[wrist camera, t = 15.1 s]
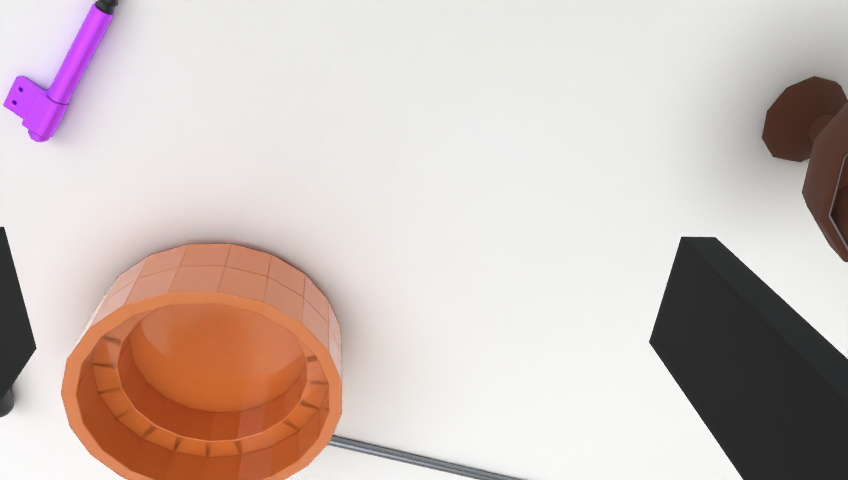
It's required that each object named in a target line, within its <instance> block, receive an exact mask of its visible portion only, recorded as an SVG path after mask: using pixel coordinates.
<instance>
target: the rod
mask: <svg viewBox="0 0 848 480" xmlns="http://www.w3.org/2000/svg"><path fill="white" fill-rule="evenodd" d="M328 445H331V446H335V447H339V448H344V449H348V450H352V451H357V452H361V453H365V454H370V455H374V456H378V457H383V458H387V459H391V460H396V461H400V462H404V463H409V464H413V465H417V466H422V467H426V468H431V469H435V470H439V471H444V472H448V473H452V474H457V475H461V476H465V477H470V478H474V479H478V480H518V479H514V478H510V477H505V476H501V475H497V474H493V473H488V472H484V471H480V470H476V469H471V468H467V467H463V466H459V465H454V464H450V463H446V462H442V461H437V460H433V459H429V458H425V457H420V456H416V455H412V454H407V453H403V452H399V451H395V450H390V449H386V448H382V447H378V446H373V445H369V444H365V443H361V442H356V441H352V440H348V439H344V438H339V437H335V436H332V438H331V440H330V442H329V444H328Z"/></svg>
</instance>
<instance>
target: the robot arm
mask: <svg viewBox="0 0 848 480" xmlns="http://www.w3.org/2000/svg"><path fill="white" fill-rule="evenodd" d="M649 343H650V344H651V346H652V347H653V349H654V350H655V351H656V353H657V354H658V356H659V357H660V359H661V360H662V362H663V363H664V365H665V366H666V368H667V369H668V370H669V372H670V373H671V375H672V376H673V378H674V379H675V381H676V382H677V384H678V385H679V386H680V388H681V389H682V391H683V392H684V394H685V395H686V397H687V398H688V400H689V401H690V403H691V404H692V405H693V407H694V408H695V410H696V411H697V413H698V414H699V416H700V417H701V419H702V420H703V422H704V423H705V424H706V426H707V427H708V429H709V430H710V432H711V433H712V435H713V436H714V438H715V439H716V440H717V442H718V443H719V445H720V446H721V448H722V449H723V451H724V452H725V454H726V455H727V457H728V458H729V459H730V461H731V462H732V464H733V465H734V467H735V468H736V470H737V471H738V473H739V474H740V476H741V477H742V478H743V480H848V359H847V358H846V357H845V356H844V355H842V354H841V353H840V352H839V351H838V350H837V349H836V348H835V347H834V346H833V345H832V344H831V343H829V342H828V341H827V340H826V339H825V338H824V337H823V336H822V335H821V334H820V333H819V332H818V331H816V330H815V329H814V328H813V327H812V326H811V325H810V324H809V323H808V322H807V321H806V320H805V319H803V318H802V317H801V316H800V315H799V314H798V313H797V312H796V311H795V310H794V309H793V308H791V307H790V306H789V305H788V304H787V303H786V302H785V301H784V300H783V299H782V298H781V297H780V296H778V295H777V294H776V293H775V292H774V291H773V290H772V289H771V288H770V287H769V286H768V285H767V284H765V283H764V282H763V281H762V280H761V279H760V278H759V277H758V276H757V275H756V274H755V273H754V272H752V271H751V270H750V269H749V268H748V267H747V266H746V265H745V264H744V263H743V262H742V261H740V260H739V259H738V258H737V257H736V256H735V255H734V254H733V253H732V252H731V251H730V250H729V249H727V248H726V247H725V246H724V245H723V244H722V243H721V242H720V241H719V240H718V239H717V238H716V237H681V240H680V243H679V247H678V250H677V253H676V256H675V260H674V263H673V266H672V269H671V273H670V276H669V279H668V282H667V286H666V289H665V292H664V296H663V299H662V302H661V305H660V309H659V312H658V315H657V318H656V322H655V325H654V328H653V331H652V335H651V338H650V341H649ZM35 350H36V344H35V341H34V337H33V333H32V330H31V326H30V322H29V318H28V315H27V311H26V307H25V303H24V300H23V296H22V292H21V288H20V285H19V281H18V277H17V273H16V270H15V266H14V262H13V259H12V255H11V251H10V247H9V244H8V240H7V236H6V232H5V229H4V227H0V402H1V401H2V399H3V398H4V396H5V395H6V393H7V392H8V390H9V389H10V387H11V386H12V384H13V383H14V381H15V380H16V378H17V377H18V375H19V374H20V372H21V371H22V369H23V368H24V366H25V365H26V363H27V362H28V360H29V359H30V357H31V356H32V354H33V353H34V351H35Z"/></svg>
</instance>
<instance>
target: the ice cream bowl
mask: <svg viewBox="0 0 848 480" xmlns="http://www.w3.org/2000/svg"><path fill="white" fill-rule="evenodd" d="M762 138H763V140H764V142H765V144H766V145H767V147H768V149H769V151H770V152H771V154H772V156H773V157H778V158H782V159H787V160H791V161H797V162H802V161H804V160H807V159H809V158H810V160H809V164H808V169H807V173H806V177H805V181H804V186H803V190H802V194H803V197H804V199H805V202H806V205H807V207H808V208H809V210H810V212H811V214H812V215H813V217H814V219H815V221H816V222H817V224H818V226H819V228H820V229H821V231H822V233H823V235H824V236H825V238H826V240H827V242H828V243H829V245H830V246H831V247H832V248H833V250H834V251H835V252H836V253H837V254H838V255H839V256H840V257H841V259H842V260H843V261H844V262H848V100H847V98H846V96H845V94H844V92H843V90H842V88H841V86H840V85H839V84H838V83H837V82H834V81H830V80H826V79H822V78H818V77H811V78H809V79H807V80H804V81H802V82H799V83H797V84H795V85H792V86H790V87H788V88H786V90H785V91H784V92H783V93H782V94H781V96H780V97H779V98H778V99H777V100H776V102H775V103H774V104H773V105H772V106H771V108H770V109H769V110H768V111H767V115H766V121H765V126H764V131H763V136H762Z"/></svg>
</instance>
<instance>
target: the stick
mask: <svg viewBox="0 0 848 480" xmlns="http://www.w3.org/2000/svg"><path fill="white" fill-rule="evenodd" d="M13 406H14V401H13V397H12V394H11V391H10V389H9V390H8V392H7V393H6V395H5V396H4V398H3V399H2V401H1V402H0V417H3V416H5V415H7V414H8V413H10V411H11V410H12V408H13Z"/></svg>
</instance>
